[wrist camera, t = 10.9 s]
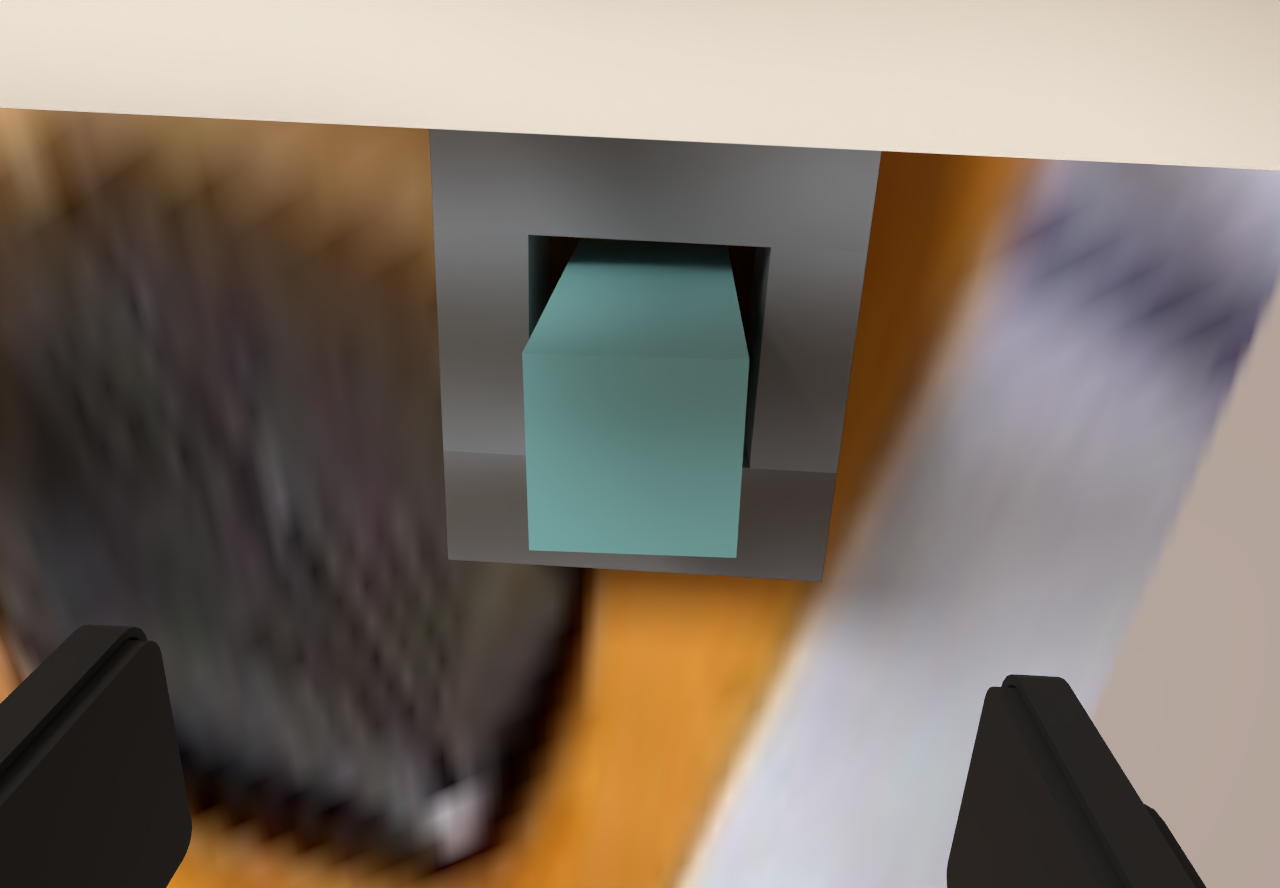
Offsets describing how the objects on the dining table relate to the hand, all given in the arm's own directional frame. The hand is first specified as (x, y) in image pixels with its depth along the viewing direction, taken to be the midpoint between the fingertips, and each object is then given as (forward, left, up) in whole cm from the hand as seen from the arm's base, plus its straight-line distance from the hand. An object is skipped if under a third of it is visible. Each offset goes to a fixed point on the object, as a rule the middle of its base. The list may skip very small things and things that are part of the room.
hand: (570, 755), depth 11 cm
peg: (0, 0, -18) cm, 17 cm away
